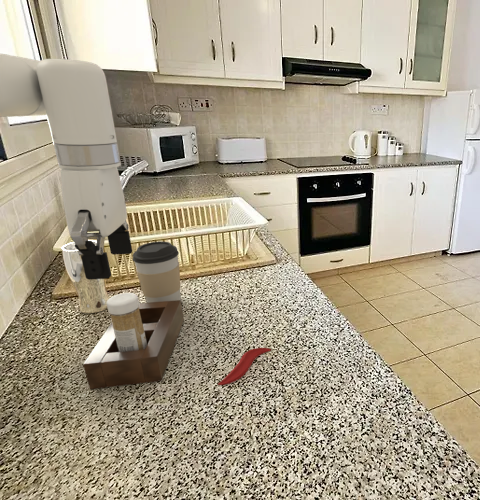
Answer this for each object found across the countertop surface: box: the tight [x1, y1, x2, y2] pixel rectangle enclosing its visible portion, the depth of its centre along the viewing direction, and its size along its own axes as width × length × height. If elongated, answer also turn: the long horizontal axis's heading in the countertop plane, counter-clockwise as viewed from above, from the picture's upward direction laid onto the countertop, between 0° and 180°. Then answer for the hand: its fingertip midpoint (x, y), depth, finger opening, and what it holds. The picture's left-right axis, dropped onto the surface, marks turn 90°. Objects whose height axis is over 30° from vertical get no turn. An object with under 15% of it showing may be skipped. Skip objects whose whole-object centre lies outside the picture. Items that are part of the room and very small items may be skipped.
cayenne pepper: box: [217, 347, 272, 386], centre depth 67 cm, size 12×5×2 cm, turn 139°
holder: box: [82, 299, 185, 390], centre depth 70 cm, size 11×19×5 cm, turn 12°
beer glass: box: [61, 239, 110, 315], centre depth 82 cm, size 7×7×15 cm
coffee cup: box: [132, 240, 182, 303], centre depth 83 cm, size 9×9×15 cm
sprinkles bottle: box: [107, 292, 147, 352], centre depth 64 cm, size 5×5×14 cm
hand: (111, 265), depth 60 cm, fingers open, 9 cm apart
